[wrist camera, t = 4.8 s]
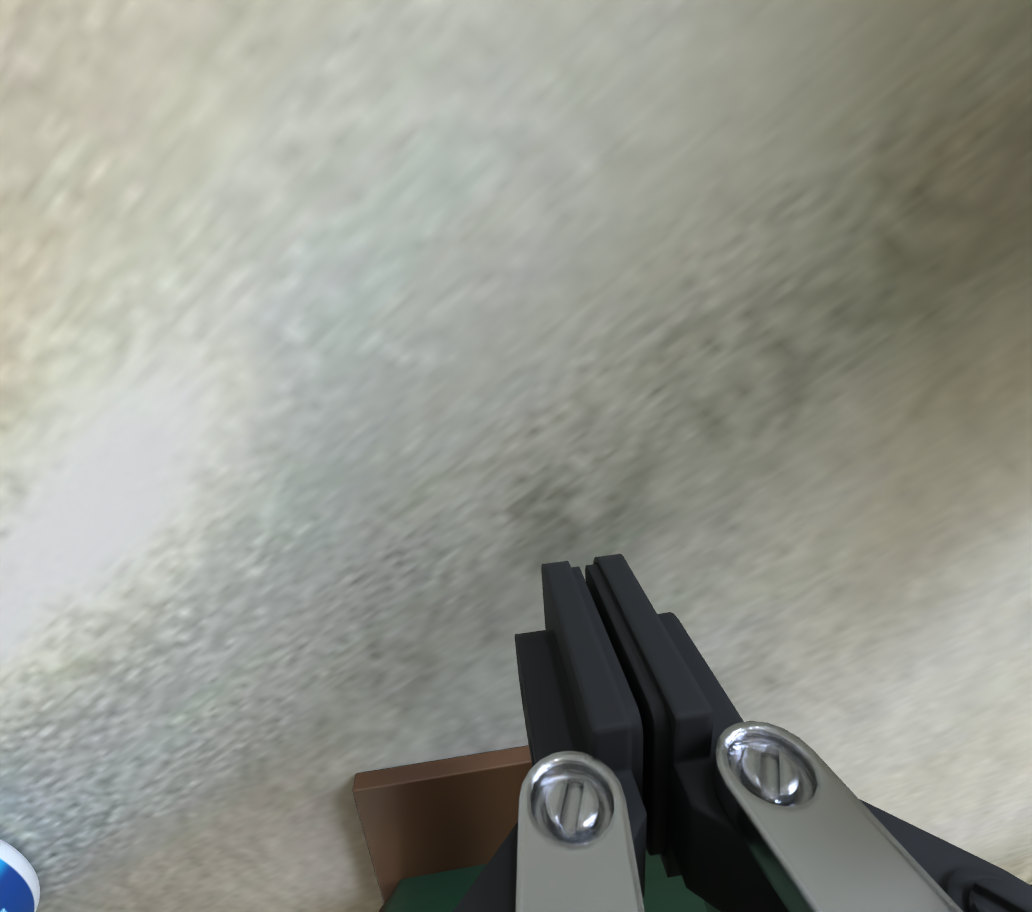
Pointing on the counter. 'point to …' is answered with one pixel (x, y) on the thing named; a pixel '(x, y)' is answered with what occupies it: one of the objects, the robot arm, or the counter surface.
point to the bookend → (439, 813)
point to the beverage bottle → (17, 881)
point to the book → (432, 898)
